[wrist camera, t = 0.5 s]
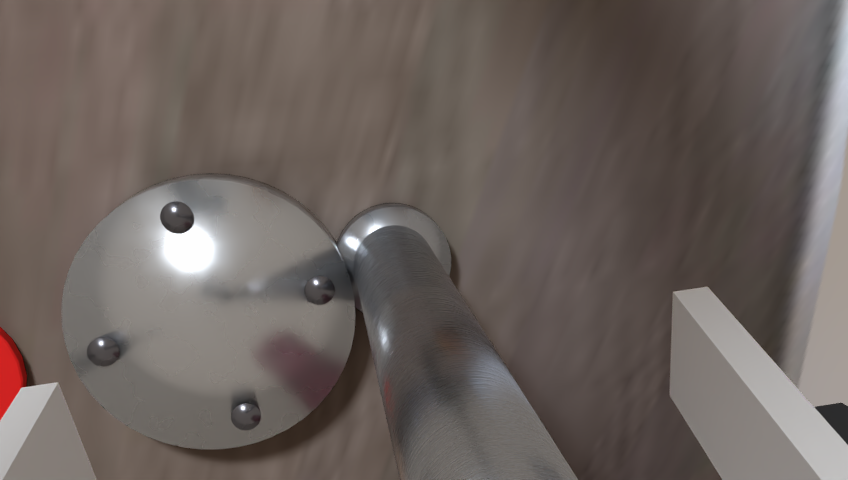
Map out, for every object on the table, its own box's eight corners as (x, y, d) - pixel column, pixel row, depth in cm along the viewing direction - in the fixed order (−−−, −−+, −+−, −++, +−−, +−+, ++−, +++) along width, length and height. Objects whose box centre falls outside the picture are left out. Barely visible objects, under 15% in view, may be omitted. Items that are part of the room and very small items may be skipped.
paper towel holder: (29, 216, 40) (-555, 568, 13) (413, 113, 41) (615, 232, 14) (129, 464, 44) (-155, 1128, 17) (475, 361, 45) (722, 814, 18)
